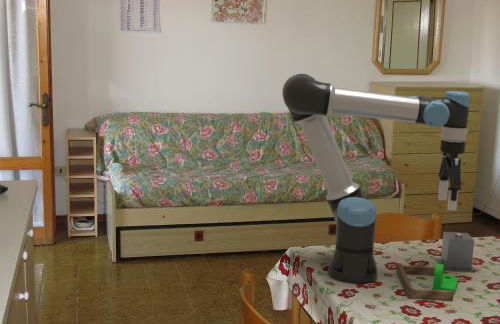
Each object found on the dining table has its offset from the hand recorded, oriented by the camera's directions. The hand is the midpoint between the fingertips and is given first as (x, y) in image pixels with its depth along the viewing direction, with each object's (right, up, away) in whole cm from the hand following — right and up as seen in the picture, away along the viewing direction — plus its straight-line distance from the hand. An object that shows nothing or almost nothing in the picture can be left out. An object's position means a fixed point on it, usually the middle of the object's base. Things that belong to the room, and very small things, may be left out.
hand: (446, 205), depth 216 cm
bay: (-12, -23, -15) cm, 30 cm away
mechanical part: (-5, -24, -15) cm, 29 cm away
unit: (+4, -20, +4) cm, 21 cm away
